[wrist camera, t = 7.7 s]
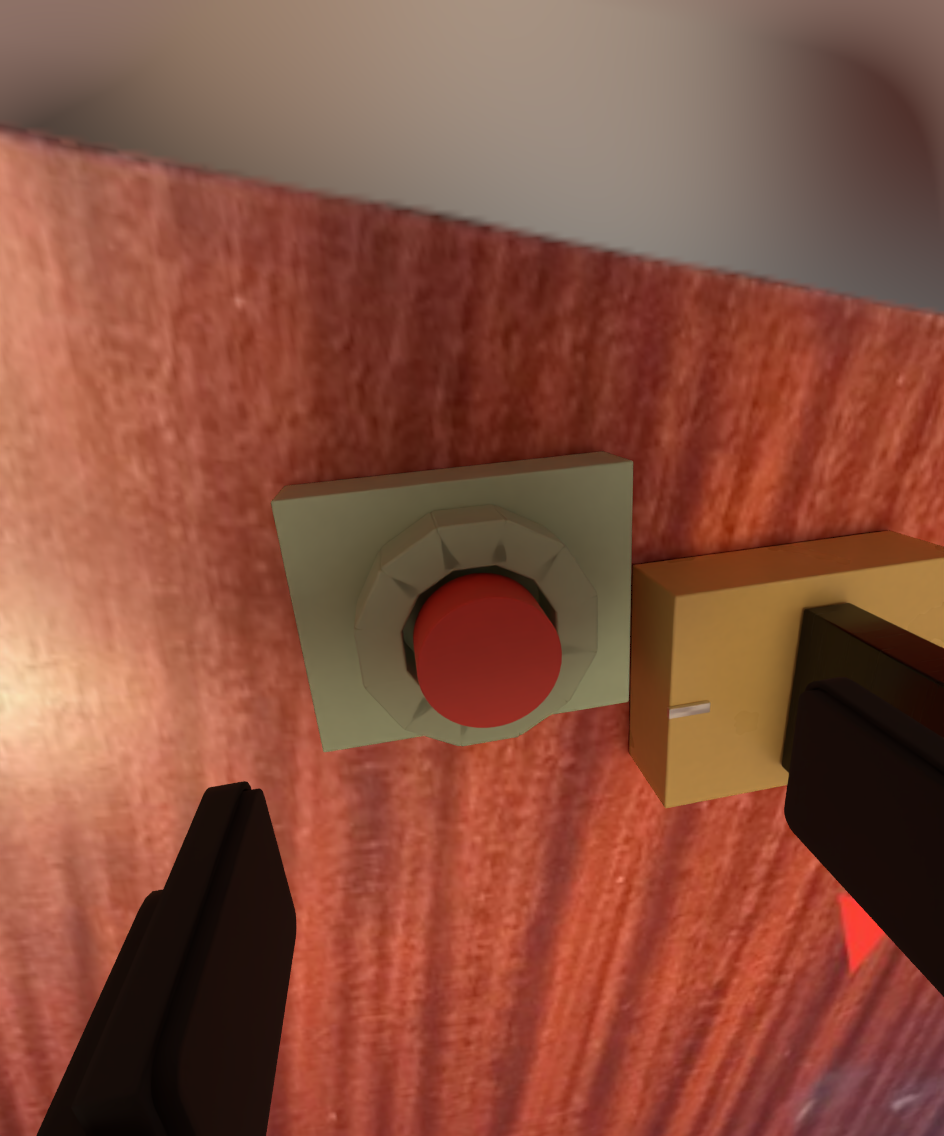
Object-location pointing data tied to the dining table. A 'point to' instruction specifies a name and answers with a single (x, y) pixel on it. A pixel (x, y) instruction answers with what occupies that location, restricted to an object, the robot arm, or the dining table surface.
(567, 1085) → the dining table surface
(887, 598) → the plate
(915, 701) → the block
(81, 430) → the dining table surface
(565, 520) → the button block
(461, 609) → the release button
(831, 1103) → the dining table surface
